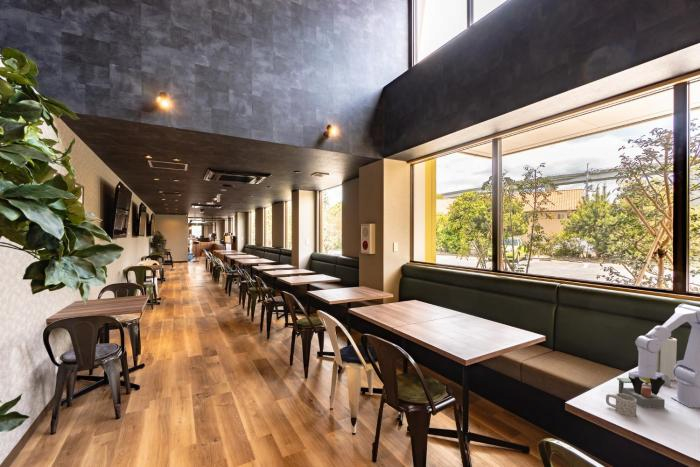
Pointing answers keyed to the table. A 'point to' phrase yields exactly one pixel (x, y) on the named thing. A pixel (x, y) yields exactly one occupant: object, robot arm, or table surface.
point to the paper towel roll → (667, 357)
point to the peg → (646, 392)
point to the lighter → (666, 380)
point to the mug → (624, 404)
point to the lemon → (646, 380)
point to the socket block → (641, 401)
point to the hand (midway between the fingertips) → (645, 393)
